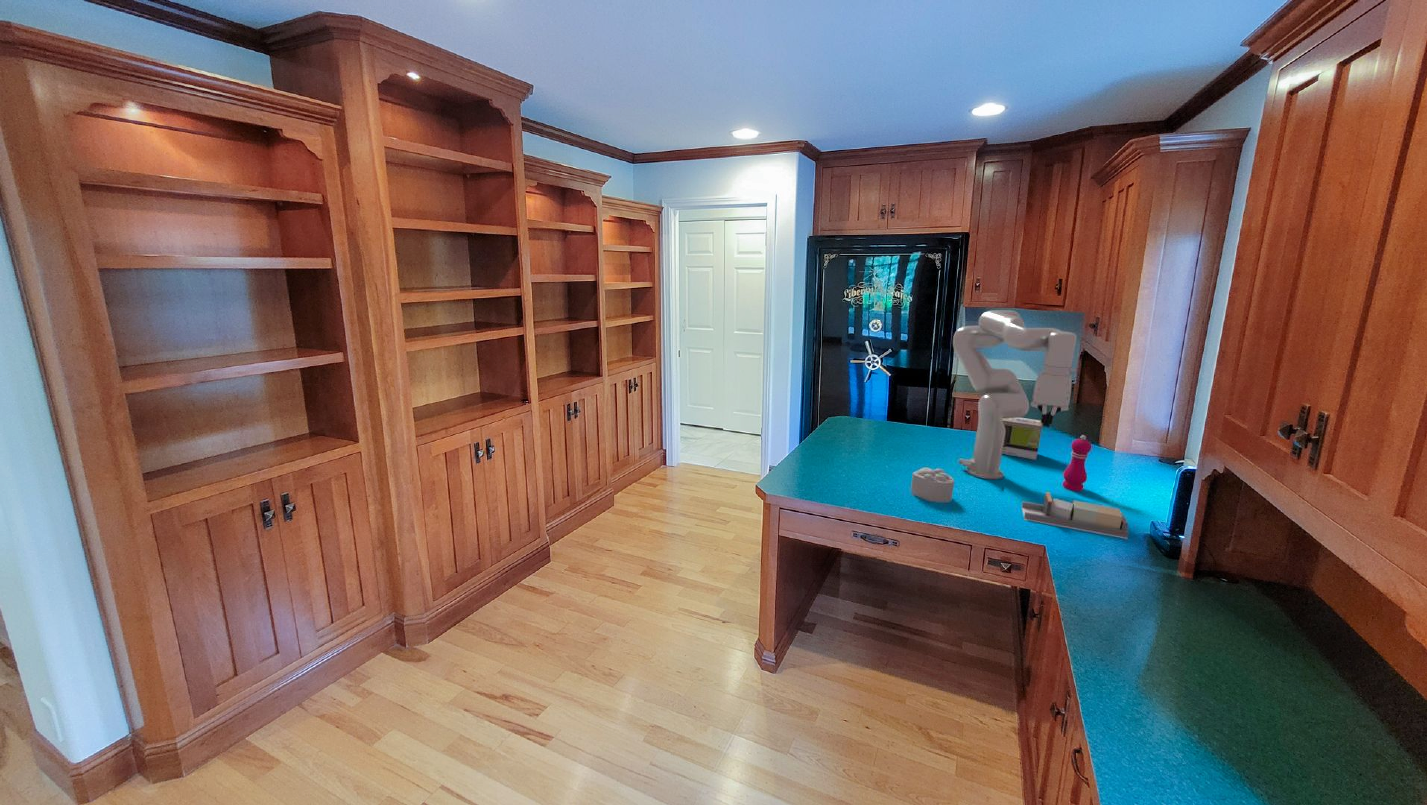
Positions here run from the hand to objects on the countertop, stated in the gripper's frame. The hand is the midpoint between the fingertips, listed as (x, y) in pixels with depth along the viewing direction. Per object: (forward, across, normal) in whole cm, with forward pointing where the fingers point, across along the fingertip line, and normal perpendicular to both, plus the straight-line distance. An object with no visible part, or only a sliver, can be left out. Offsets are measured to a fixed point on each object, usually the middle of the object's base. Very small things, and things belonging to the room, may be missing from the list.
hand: (1045, 425), depth 182 cm
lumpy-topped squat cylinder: (+27, +31, +10) cm, 43 cm away
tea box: (+27, +1, -51) cm, 58 cm away
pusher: (+26, -3, +13) cm, 29 cm away
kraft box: (+26, -19, +13) cm, 35 cm away
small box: (+26, -7, +13) cm, 30 cm away
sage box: (+26, -13, +12) cm, 32 cm away
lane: (+27, -10, +13) cm, 32 cm away
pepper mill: (+27, -15, -20) cm, 37 cm away
